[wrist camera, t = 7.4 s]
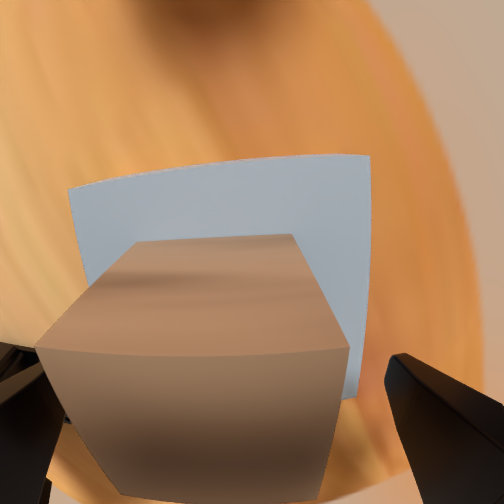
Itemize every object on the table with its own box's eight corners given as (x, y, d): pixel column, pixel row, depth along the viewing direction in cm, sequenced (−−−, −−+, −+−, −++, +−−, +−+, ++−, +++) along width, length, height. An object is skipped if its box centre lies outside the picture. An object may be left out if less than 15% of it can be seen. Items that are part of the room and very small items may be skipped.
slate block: (335, 347, 16) (356, 397, 12) (153, 361, 16) (135, 412, 12) (334, 153, 13) (369, 155, 9) (112, 177, 13) (67, 189, 9)
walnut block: (290, 361, 11) (316, 499, 6) (161, 364, 11) (121, 494, 6) (291, 234, 10) (350, 346, 4) (136, 241, 10) (33, 346, 4)
